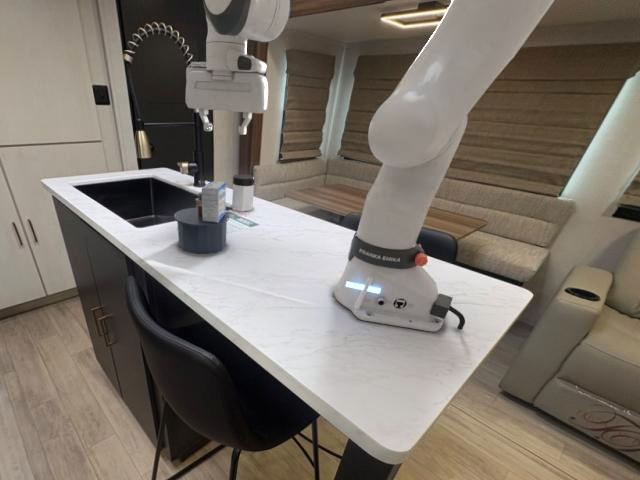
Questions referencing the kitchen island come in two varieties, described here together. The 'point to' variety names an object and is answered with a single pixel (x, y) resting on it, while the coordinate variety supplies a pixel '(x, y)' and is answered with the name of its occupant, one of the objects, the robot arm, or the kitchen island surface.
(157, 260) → the kitchen island surface
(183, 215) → the pot lid
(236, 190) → the jar
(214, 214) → the medicine box
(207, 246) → the pot
